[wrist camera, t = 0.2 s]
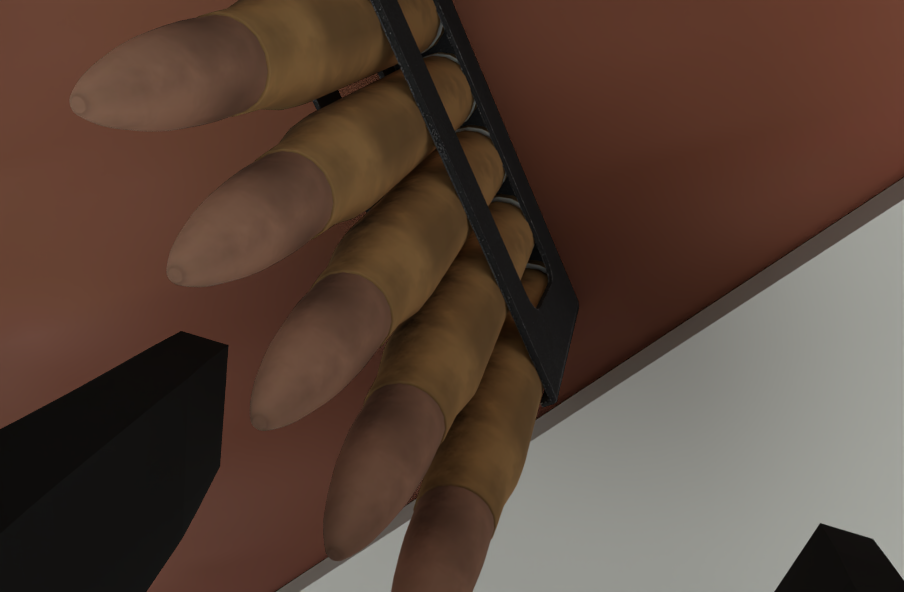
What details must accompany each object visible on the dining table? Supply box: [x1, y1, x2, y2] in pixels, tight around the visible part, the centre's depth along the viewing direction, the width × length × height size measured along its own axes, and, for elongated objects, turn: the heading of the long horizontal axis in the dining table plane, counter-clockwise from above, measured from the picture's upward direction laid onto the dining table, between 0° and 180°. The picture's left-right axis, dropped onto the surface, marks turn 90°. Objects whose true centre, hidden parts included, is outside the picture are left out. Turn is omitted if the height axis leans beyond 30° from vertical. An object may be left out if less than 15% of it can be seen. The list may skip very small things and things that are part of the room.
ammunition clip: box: [70, 0, 579, 592], centre depth 14 cm, size 11×2×12 cm, turn 24°
